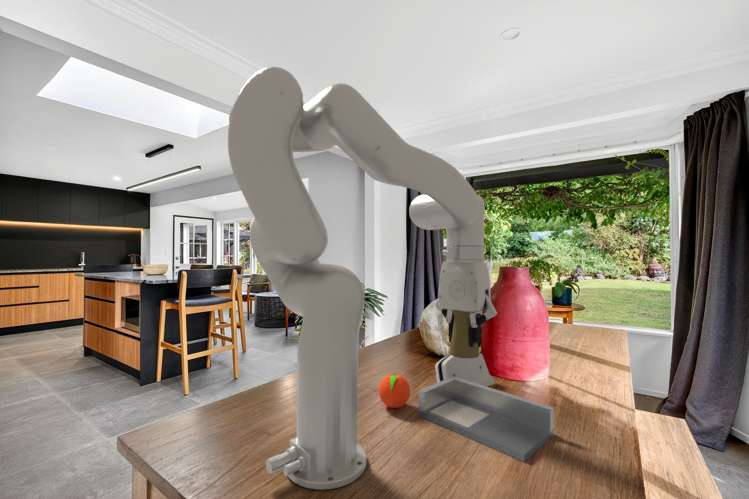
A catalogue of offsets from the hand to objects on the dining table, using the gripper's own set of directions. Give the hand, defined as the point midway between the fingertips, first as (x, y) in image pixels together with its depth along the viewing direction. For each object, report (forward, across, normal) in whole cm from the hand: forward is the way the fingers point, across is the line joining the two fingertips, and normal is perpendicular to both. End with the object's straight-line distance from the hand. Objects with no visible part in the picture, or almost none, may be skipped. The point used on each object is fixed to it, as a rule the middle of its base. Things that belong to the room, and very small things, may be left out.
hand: (464, 342), depth 73 cm
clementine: (+15, -12, -8) cm, 21 cm away
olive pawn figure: (+2, 0, 0) cm, 2 cm away
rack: (+15, +4, 0) cm, 16 cm away
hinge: (+16, -9, +14) cm, 23 cm away
